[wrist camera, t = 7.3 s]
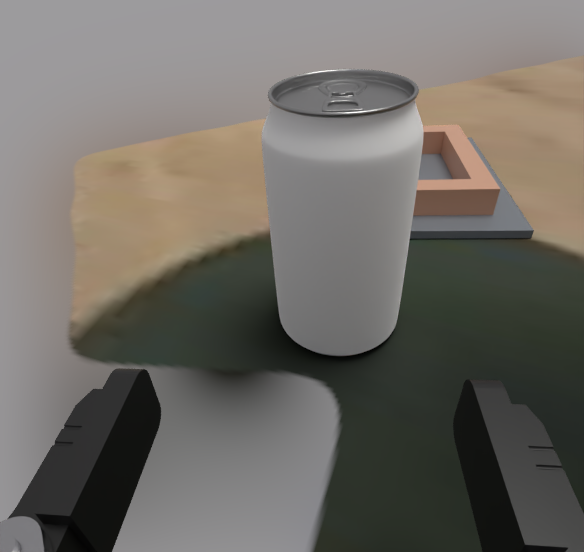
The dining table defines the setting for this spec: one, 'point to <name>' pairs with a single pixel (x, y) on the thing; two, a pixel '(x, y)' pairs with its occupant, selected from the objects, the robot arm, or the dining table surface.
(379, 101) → the can
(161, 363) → the dining table surface
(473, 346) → the dining table surface
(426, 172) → the tray
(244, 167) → the dining table surface
